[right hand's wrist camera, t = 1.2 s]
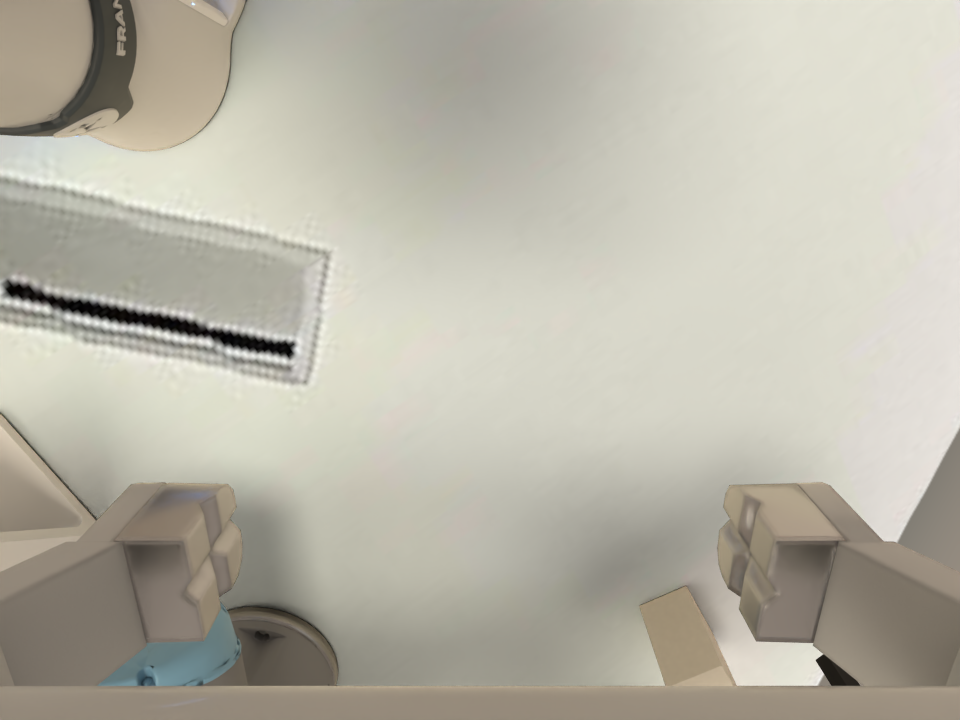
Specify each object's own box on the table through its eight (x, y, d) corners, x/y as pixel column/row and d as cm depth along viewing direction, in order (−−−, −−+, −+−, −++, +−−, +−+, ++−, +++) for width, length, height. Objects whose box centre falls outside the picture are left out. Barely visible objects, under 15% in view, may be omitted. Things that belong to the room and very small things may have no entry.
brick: (666, 652, 64) (697, 739, 55) (639, 605, 62) (666, 687, 53) (712, 633, 63) (751, 718, 54) (686, 585, 61) (722, 665, 52)
